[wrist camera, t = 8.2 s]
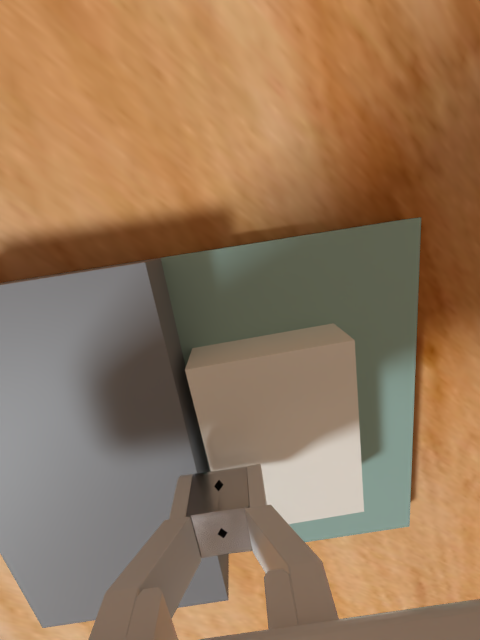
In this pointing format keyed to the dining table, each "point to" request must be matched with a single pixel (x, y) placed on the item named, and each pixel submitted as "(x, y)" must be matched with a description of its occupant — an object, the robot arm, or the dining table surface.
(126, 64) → the dining table surface
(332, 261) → the mat
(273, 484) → the tile
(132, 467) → the plate
